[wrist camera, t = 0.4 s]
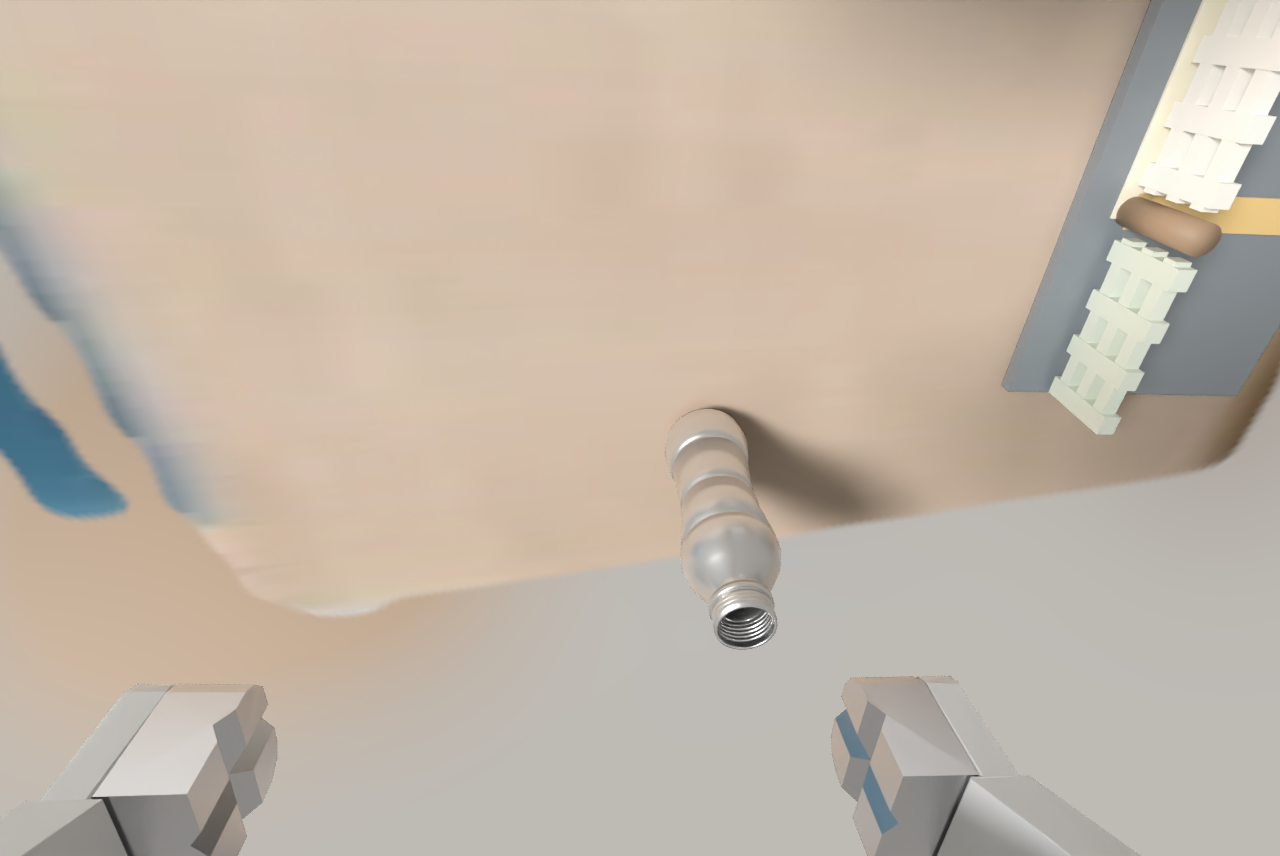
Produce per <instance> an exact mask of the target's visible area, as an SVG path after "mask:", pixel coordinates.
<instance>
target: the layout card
mask: <svg viewBox="0 0 1280 856" xmlns="http://www.w3.org/2000/svg"><path fill="white" fill-rule="evenodd" d="M1227 1H1228V0H1151V2H1150V5H1149V7H1148V10H1147V13H1146V15H1145V18H1144V20H1143V23H1142V25H1141V28H1140V31H1139V33H1138V36H1137V38H1136V41H1135V43H1134V46H1133V49H1132V51H1131V54H1130V56H1129V59H1128V61H1127V64H1126V67H1125V69H1124V72H1123V74H1122V77H1121V79H1120V82H1119V85H1118V87H1117V90H1116V92H1115V95H1114V97H1113V100H1112V103H1111V105H1110V108H1109V110H1108V113H1107V115H1106V118H1105V120H1104V123H1103V126H1102V128H1101V131H1100V133H1099V136H1098V138H1097V141H1096V144H1095V146H1094V149H1093V151H1092V154H1091V156H1090V159H1089V162H1088V164H1087V167H1086V169H1085V172H1084V174H1083V177H1082V180H1081V182H1080V185H1079V187H1078V190H1077V192H1076V195H1075V198H1074V200H1073V203H1072V205H1071V208H1070V210H1069V213H1068V216H1067V218H1066V221H1065V223H1064V226H1063V228H1062V231H1061V234H1060V236H1059V239H1058V241H1057V244H1056V246H1055V249H1054V252H1053V254H1052V257H1051V259H1050V262H1049V264H1048V267H1047V270H1046V272H1045V275H1044V277H1043V280H1042V282H1041V285H1040V288H1039V290H1038V293H1037V295H1036V298H1035V300H1034V303H1033V306H1032V308H1031V311H1030V313H1029V316H1028V318H1027V321H1026V323H1025V326H1024V329H1023V331H1022V334H1021V336H1020V339H1019V341H1018V344H1017V347H1016V349H1015V352H1014V354H1013V357H1012V359H1011V362H1010V365H1009V367H1008V370H1007V372H1006V375H1005V377H1004V380H1003V383H1002V386H1003V387H1004V388H1005V389H1006V390H1007V391H1010V392H1049V390H1050V387H1051V385H1052V383H1053V380H1054V378H1055V376H1062V375H1063V372H1064V370H1065V368H1066V365H1067V363H1068V361H1069V359H1070V356H1071V355H1070V354H1069V353H1068V352H1066V351H1067V348H1068V346H1069V344H1070V341H1071V339H1072V337H1073V334H1081V331H1082V329H1083V327H1084V325H1085V322H1086V320H1087V318H1088V316H1089V313H1090V310H1089V309H1087V308H1085V307H1086V305H1087V302H1088V300H1089V298H1090V295H1091V293H1092V291H1093V289H1100V288H1101V286H1102V284H1103V282H1104V279H1105V277H1106V275H1107V273H1108V270H1109V268H1110V266H1111V262H1109V261H1107V260H1106V259H1107V256H1108V254H1109V252H1110V250H1111V247H1112V245H1113V243H1114V240H1122V239H1123V238H1138V239H1140V240H1142V241H1145V242H1147V244H1146V247H1158V248H1160V249H1163V250H1165V251H1167V252H1169V253H1168V255H1167V257H1181V258H1183V259H1185V260H1187V261H1190V262H1192V265H1191V268H1194V269H1196V270H1198V271H1197V273H1196V275H1195V277H1194V278H1193V280H1192V282H1191V284H1190V286H1189V288H1188V290H1187V292H1177V294H1176V296H1175V298H1174V300H1173V302H1172V304H1171V306H1170V308H1169V310H1168V312H1167V314H1166V316H1165V318H1164V321H1166V322H1168V323H1169V324H1170V325H1169V327H1168V329H1167V331H1166V333H1165V335H1164V337H1163V338H1162V340H1161V342H1160V344H1151V345H1150V347H1149V349H1148V351H1147V353H1146V355H1145V357H1144V359H1143V361H1142V363H1141V365H1140V367H1139V369H1140V370H1141V371H1143V372H1144V375H1143V377H1142V379H1141V381H1140V383H1139V385H1138V387H1137V389H1136V391H1127V392H1126V394H1161V395H1212V396H1237V394H1238V393H1239V391H1240V389H1241V388H1242V386H1243V384H1244V383H1245V381H1246V380H1247V378H1248V376H1249V375H1250V373H1251V371H1252V370H1253V368H1254V367H1255V365H1256V363H1257V362H1258V360H1259V358H1260V357H1261V355H1262V353H1263V352H1264V350H1265V349H1266V347H1267V345H1268V344H1269V342H1270V340H1271V339H1272V337H1273V336H1274V334H1275V332H1276V331H1277V329H1278V327H1279V326H1280V92H1279V93H1278V95H1277V97H1276V99H1275V101H1274V103H1273V105H1272V107H1271V109H1270V111H1269V113H1268V115H1270V116H1276V117H1277V118H1276V120H1275V122H1274V123H1273V125H1272V127H1271V129H1270V131H1269V133H1268V135H1267V137H1266V139H1265V141H1264V143H1263V145H1258V144H1253V145H1252V147H1251V149H1250V151H1249V152H1248V154H1247V156H1246V158H1245V160H1244V162H1243V164H1242V166H1241V168H1240V170H1239V172H1238V174H1237V176H1236V178H1235V180H1234V182H1235V183H1238V184H1242V185H1241V187H1240V189H1239V191H1238V193H1237V195H1236V197H1235V199H1234V201H1233V203H1232V205H1231V207H1230V209H1229V210H1221V209H1220V210H1219V211H1218V213H1213V212H1200V211H1197V210H1194V209H1192V208H1189V207H1190V205H1191V204H1182V203H1175V202H1172V201H1169V200H1166V196H1161V195H1152V194H1149V193H1146V192H1144V189H1145V187H1144V186H1141V185H1139V183H1140V181H1141V178H1142V176H1143V174H1144V171H1145V169H1146V167H1147V165H1148V162H1157V159H1158V157H1159V155H1160V152H1161V150H1162V148H1163V146H1164V143H1165V141H1166V139H1167V137H1168V134H1169V132H1170V130H1171V128H1169V127H1165V123H1166V121H1167V119H1168V116H1169V114H1170V112H1171V109H1172V107H1173V105H1174V103H1175V101H1176V102H1183V100H1184V98H1185V96H1186V94H1187V91H1188V89H1189V87H1190V85H1191V82H1192V80H1193V78H1194V75H1195V73H1196V71H1197V69H1198V66H1199V64H1200V63H1194V62H1192V61H1193V59H1194V57H1195V54H1196V52H1197V50H1198V47H1199V45H1200V43H1201V41H1202V38H1203V36H1204V35H1213V32H1214V30H1215V28H1216V26H1217V23H1218V21H1219V19H1220V17H1221V14H1222V12H1223V10H1224V7H1225V5H1226V3H1227ZM1137 196H1139V197H1143V198H1146V199H1148V200H1151V201H1154V202H1157V203H1159V204H1162V205H1165V206H1168V207H1170V208H1173V209H1176V210H1178V211H1181V212H1184V213H1187V214H1189V215H1192V216H1195V217H1198V218H1200V219H1203V220H1206V221H1209V222H1211V223H1214V224H1217V225H1218V226H1219V227H1220V228H1221V232H1222V234H1221V238H1220V241H1219V242H1218V244H1217V245H1216V247H1215V248H1214V249H1213V250H1211V251H1210V252H1209V253H1207V254H1205V255H1203V256H1200V257H1191V256H1189V255H1187V254H1184V253H1182V252H1180V251H1178V250H1175V249H1173V248H1171V247H1168V246H1166V245H1164V244H1161V243H1159V242H1157V241H1155V240H1152V239H1150V238H1148V237H1145V236H1143V235H1141V234H1139V233H1136V232H1134V231H1132V230H1129V229H1127V228H1125V227H1122V226H1120V225H1118V224H1117V223H1116V221H1115V219H1116V214H1117V211H1118V209H1119V208H1120V206H1121V205H1122V204H1123V203H1124V202H1125V201H1126V200H1128V199H1130V198H1132V197H1137Z"/></svg>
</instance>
